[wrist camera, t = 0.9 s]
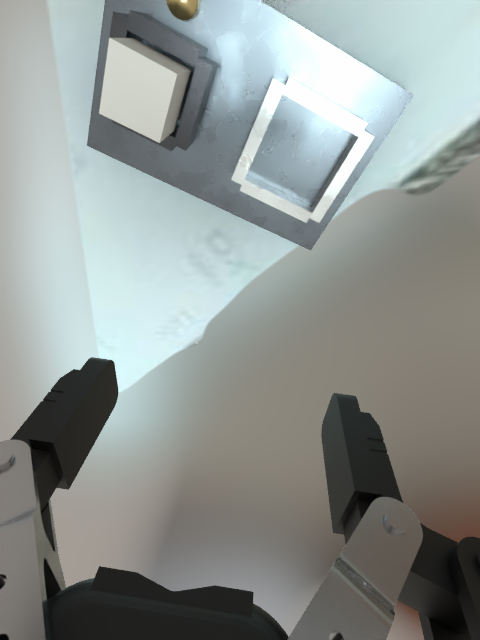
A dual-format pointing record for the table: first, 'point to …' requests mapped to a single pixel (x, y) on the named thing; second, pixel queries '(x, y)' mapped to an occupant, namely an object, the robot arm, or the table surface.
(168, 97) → the button
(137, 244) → the table surface
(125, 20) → the grey control panel
